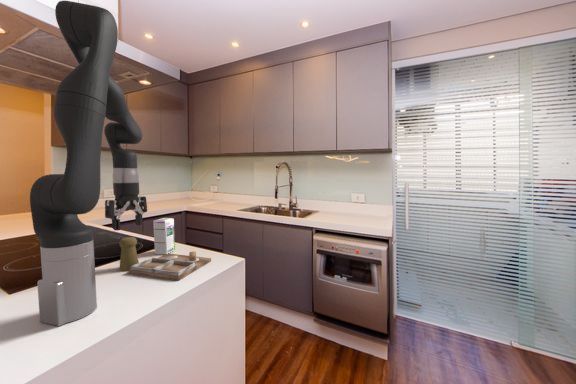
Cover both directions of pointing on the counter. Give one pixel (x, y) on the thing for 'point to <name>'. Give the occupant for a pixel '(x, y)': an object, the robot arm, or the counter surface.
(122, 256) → the cork
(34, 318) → the counter surface
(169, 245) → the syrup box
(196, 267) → the board
